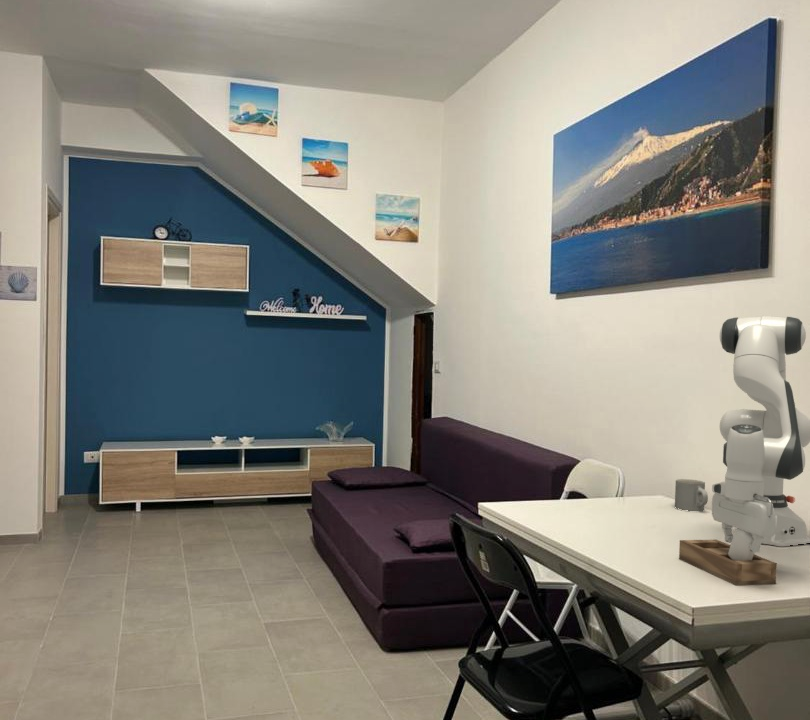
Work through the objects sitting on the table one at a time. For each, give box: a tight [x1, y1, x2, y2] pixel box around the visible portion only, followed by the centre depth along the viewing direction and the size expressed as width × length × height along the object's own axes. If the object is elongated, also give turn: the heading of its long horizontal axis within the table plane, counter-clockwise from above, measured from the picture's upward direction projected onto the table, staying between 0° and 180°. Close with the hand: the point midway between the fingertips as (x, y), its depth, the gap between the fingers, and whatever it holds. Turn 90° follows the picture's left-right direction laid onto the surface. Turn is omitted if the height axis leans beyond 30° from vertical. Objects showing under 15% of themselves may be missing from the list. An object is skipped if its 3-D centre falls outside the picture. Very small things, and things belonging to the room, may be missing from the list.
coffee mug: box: [674, 478, 709, 512], centre depth 282 cm, size 13×10×10 cm
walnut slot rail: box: [678, 539, 778, 586], centre depth 200 cm, size 11×24×5 cm, turn 13°
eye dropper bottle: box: [728, 528, 755, 561], centre depth 193 cm, size 4×6×12 cm
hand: (741, 546), depth 194 cm, fingers open, 8 cm apart
